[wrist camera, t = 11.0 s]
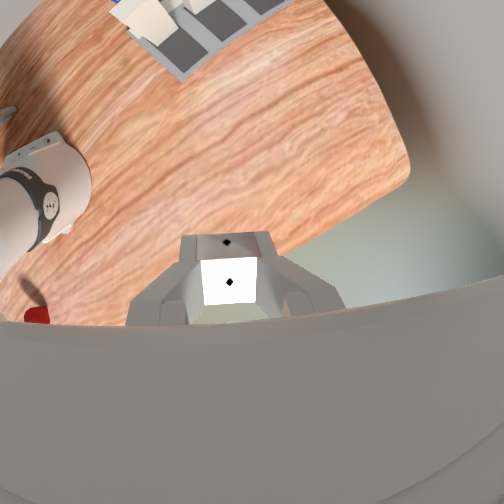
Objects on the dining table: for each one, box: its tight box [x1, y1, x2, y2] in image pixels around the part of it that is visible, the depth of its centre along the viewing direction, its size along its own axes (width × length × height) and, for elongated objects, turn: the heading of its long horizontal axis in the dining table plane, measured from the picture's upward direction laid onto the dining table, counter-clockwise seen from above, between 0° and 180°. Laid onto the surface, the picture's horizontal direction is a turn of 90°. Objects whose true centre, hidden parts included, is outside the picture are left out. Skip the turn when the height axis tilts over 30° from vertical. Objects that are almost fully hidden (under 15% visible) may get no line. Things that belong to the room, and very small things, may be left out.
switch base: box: [126, 0, 294, 83], centre depth 27 cm, size 13×21×1 cm, turn 131°
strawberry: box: [24, 306, 50, 324], centre depth 48 cm, size 6×8×10 cm
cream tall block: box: [109, 0, 179, 47], centre depth 22 cm, size 2×4×14 cm, turn 131°
